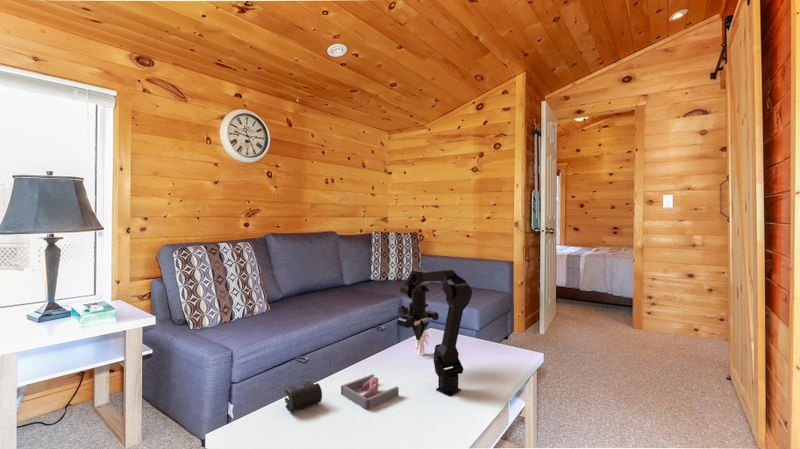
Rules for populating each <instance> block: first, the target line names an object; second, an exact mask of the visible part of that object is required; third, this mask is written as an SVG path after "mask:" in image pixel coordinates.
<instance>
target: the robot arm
mask: <svg viewBox="0 0 800 449" xmlns="http://www.w3.org/2000/svg"><path fill="white" fill-rule="evenodd" d="M431 282H441V288H442V291H443V292H444V294H445V301H446V303H447V305H448V310H447V315H446V320H445V324H444V325H445V327H444V331H443V336H442V340H441V343H439V344H436V345H435V346H434V351H433V355H432V356H433V364H434V366H433V367H434V371H435V374H436V376H437V377H438V382H437V383H438V385H437V386H438V387H436V389H435V391H437V392H440V393H441V394H443V395H446V396H448V397H452V396H454V395H456V394H457V393H459V392H461V391H462V389H461V388H460V387H459V378H460V377H459V375H461V374H463V372H464V367H463V365H462V362H461V361H460V358H459V351H458V348H457V342H458V337H459V332H460V327H461V322H462V317H463V312H464V309H465V308H467V307H468V305H469V304H470V302H471V300H472V296H473V289H472V287H471V286H470V284H468V282H467V281H466V280H465V279H464V278H463V277H461V276H459V275H458V274H457V273H456V272H455V270H453V269H451V268H450V269H442V270H436V271H431V270H429V269H414V270H411V271H410V273H409V275H408V278H407V280H404V282H403V283H402V285H401V286H400V289H399V291H400V294H401V295H402V296H403V297H405V298H408V299H411V302H409V304H408V306H406V307H405V306H404V305H401V306H400V305H399V306H398V307H397V308H398V310H397V312H398V314H399V315H401V316H400V317H398V318H397V320H396V325H397V326H400V327H403V328H406V329H409V328H412V330H413V334H414V337H416V339H415V340H420V338H421V336H422V334H423V332H424V331H425V330H426V329H427V327H428V326H429V325H430V322H429V321H428V319H432V320H433V321H438V320H439V318H440V316H439V315H440V314H439V313H438V312H437V311H433V310H427V308H428V307H429V304H428V303H427V293H428V292H430V289H429V288H428V287H427V284H430V283H431ZM449 282H452V283H453V284H449Z"/></svg>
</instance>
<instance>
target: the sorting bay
mask: <svg viewBox="0 0 800 449" xmlns="http://www.w3.org/2000/svg"><path fill="white" fill-rule="evenodd" d="M371 377H375V374H370V375H367V376H364V377H361V378H358V379H356V380H353V381H350V382H348V383H345V384H342V385H341V386H340V396H341V395H342V396H343V397H344V398H346V399H348V400H349V401H351V402H353V403H354V404H355V405H358V406H360V407H361V408H363V409H364V410H366V411H368V410H370V409H372V408H375V407H377V406H379V405H381V404H383V403H385V402H388V401H391V400H393V399H394V398H397V397H399V389H400V388H399V387H398V386H395V387H392V388H389V389H387V390H385V391H381V392H378V394H377V393H376V395H375V396H372V397H370V398H365V397H364V396H362V395H363V394H360V393H358V392H357V390H361V389H362V386H363V384H364V383H365V382H367V381H368V380H369V379H370V378H371Z"/></svg>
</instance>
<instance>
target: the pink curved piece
mask: <svg viewBox="0 0 800 449" xmlns="http://www.w3.org/2000/svg"><path fill="white" fill-rule="evenodd" d="M379 380H380V379H379V378H378V377H376V376H374V377H371V378H370V379H369V380H368V381H367V382H365V383H364V384H363V386H362V388H361V390H362V391H366V392H364V394H361V395H362V396H364V397H365V398H370V397H372V396H375V395H377V394H379V393H380V392H379V391H380V390H379Z"/></svg>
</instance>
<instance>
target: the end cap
mask: <svg viewBox="0 0 800 449" xmlns="http://www.w3.org/2000/svg"><path fill="white" fill-rule="evenodd" d="M302 386H303V387H297V386H295V385H292V386H288V387H286V388H285V391H284V394H285V395H286V397H285V398H284V401H285V408H286V409H287V411H289V413H294V412H296V411H299V410H303V409H306V408H308V407H312V406H315V405H317V404H319V403H321V401H322V400H323V399H322V398H323V391H322V388H321V385H320V384H319V383H318V382H317V383H313V382H312V381H306V382H303V383H302Z"/></svg>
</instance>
